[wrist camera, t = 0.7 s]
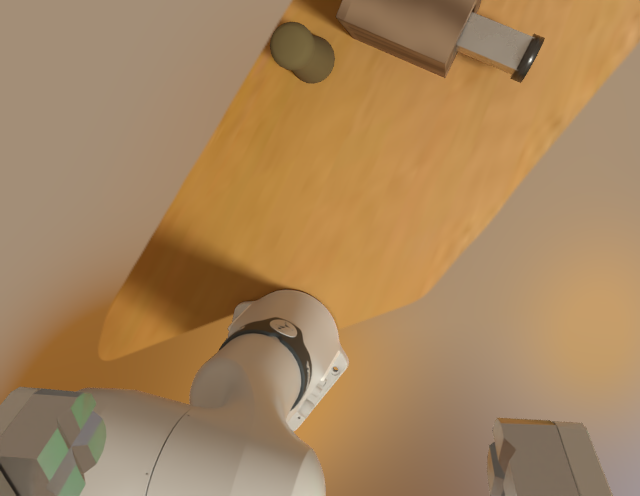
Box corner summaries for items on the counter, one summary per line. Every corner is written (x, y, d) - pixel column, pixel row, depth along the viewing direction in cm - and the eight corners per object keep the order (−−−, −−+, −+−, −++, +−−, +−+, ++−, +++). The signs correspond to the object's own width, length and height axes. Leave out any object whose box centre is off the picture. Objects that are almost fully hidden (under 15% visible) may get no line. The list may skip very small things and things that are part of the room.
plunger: (517, 85, 59) (524, 79, 54) (418, 42, 61) (416, 33, 56) (539, 43, 58) (548, 33, 53) (437, 0, 59) (437, -12, 55)
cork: (290, 37, 68) (261, 16, 57) (334, 34, 66) (313, 12, 56) (291, 84, 69) (263, 72, 58) (334, 82, 67) (314, 70, 57)
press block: (445, 78, 64) (445, 63, 54) (353, 38, 66) (335, 16, 55) (479, 6, 62) (486, -23, 51) (383, -33, 63) (370, -70, 53)
